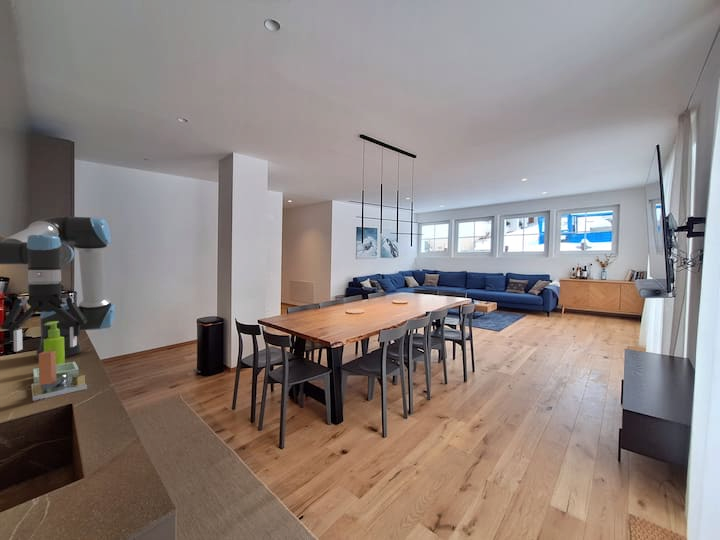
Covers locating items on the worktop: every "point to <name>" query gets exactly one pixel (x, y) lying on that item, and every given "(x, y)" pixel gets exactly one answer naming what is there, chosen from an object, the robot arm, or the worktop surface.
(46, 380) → the crank
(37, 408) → the worktop surface
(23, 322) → the robot arm
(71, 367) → the tray
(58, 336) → the soap dispenser
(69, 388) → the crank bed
